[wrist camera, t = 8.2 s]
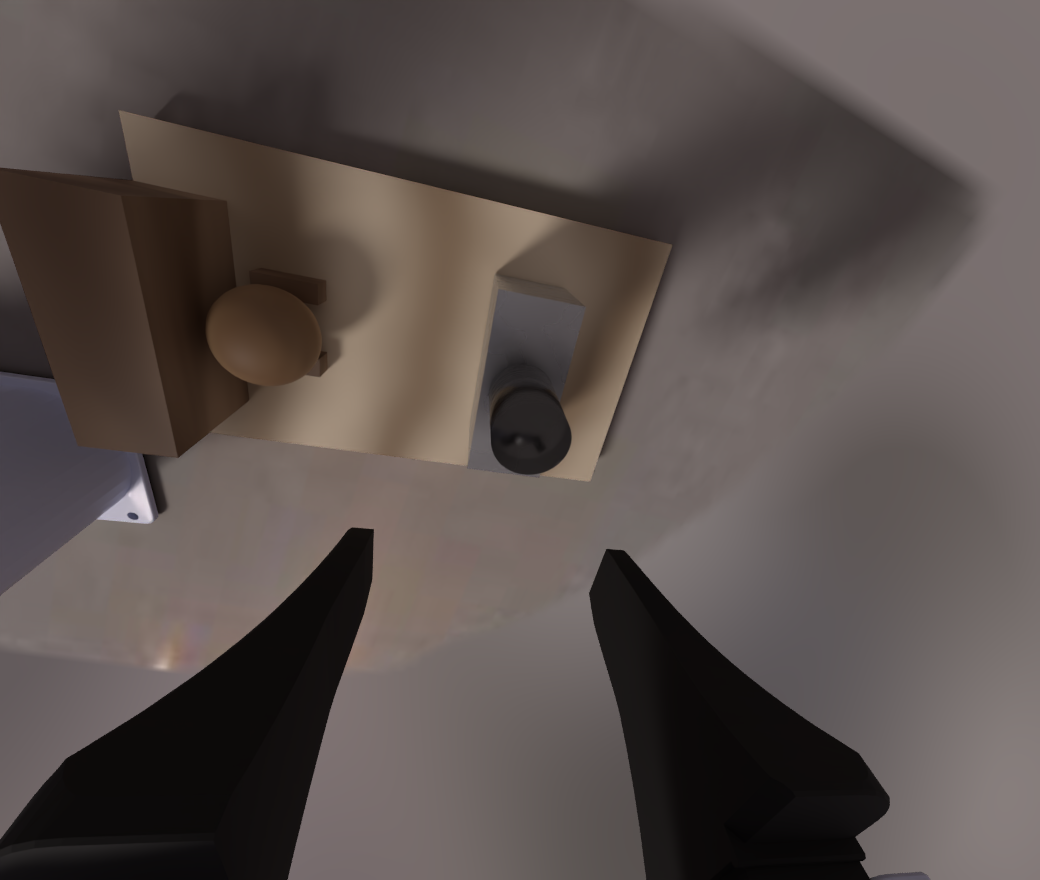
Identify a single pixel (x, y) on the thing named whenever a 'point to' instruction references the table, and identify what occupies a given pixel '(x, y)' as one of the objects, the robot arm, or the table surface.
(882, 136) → the table surface
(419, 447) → the base
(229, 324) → the walnut
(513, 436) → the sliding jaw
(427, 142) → the table surface
